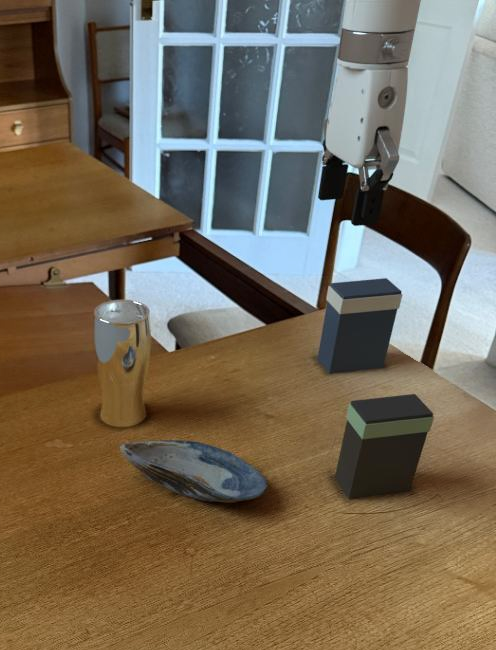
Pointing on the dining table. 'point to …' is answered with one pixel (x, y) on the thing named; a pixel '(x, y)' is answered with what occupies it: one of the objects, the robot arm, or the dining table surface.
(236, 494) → the seashell
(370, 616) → the dining table surface
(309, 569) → the dining table surface
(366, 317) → the navy blue box
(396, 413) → the dark grey rectangular block
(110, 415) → the beer glass
